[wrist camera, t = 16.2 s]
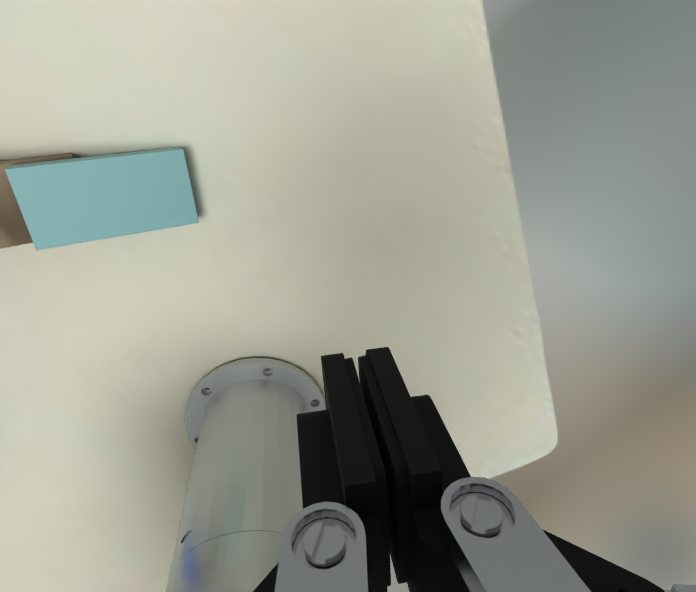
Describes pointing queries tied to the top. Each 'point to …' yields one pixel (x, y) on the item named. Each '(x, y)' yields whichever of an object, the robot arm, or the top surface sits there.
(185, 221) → the tile
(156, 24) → the top surface
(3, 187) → the tile
